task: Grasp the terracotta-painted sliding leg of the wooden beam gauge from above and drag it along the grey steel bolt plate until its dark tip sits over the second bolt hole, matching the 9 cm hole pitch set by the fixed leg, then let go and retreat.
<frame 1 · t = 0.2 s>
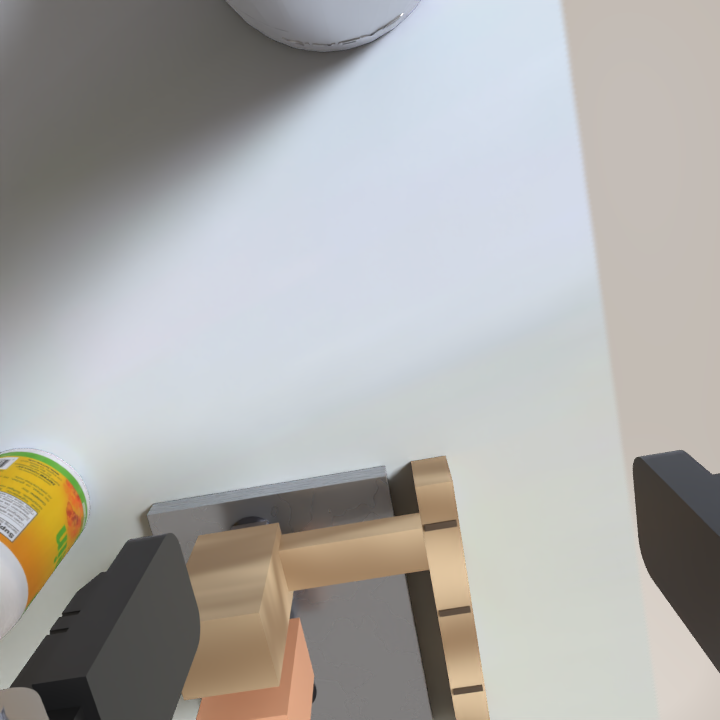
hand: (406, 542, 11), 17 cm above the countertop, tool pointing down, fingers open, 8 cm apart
sliding leg: (263, 682, 28), point 5 cm above the countertop, slide at 0.0 cm
gauge rule: (450, 594, 32), on the countertop
bolt plate: (301, 617, 33), on the countertop
supplement bottle: (37, 495, 31), on the countertop
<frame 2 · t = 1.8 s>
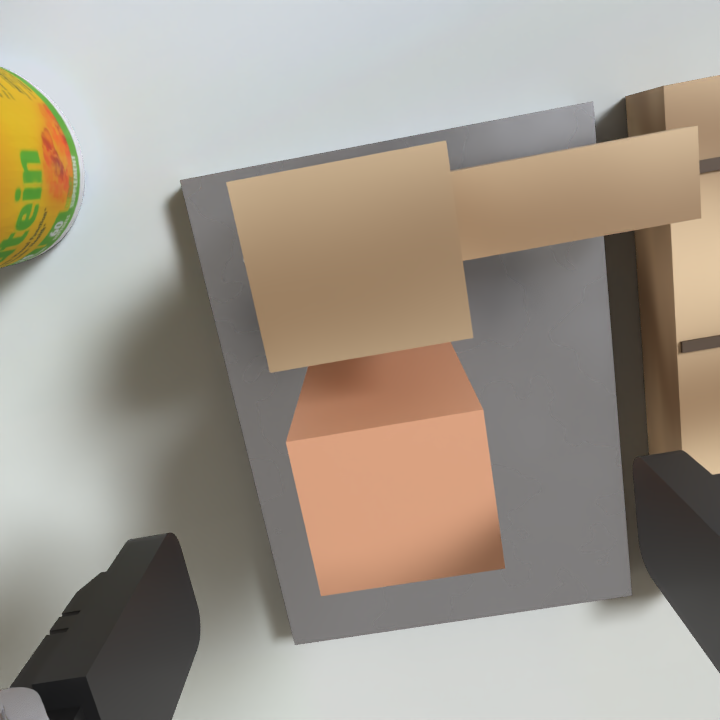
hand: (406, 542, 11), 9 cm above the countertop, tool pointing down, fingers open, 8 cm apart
sliding leg: (391, 432, 15), point 5 cm above the countertop, slide at 0.0 cm
gauge rule: (669, 353, 20), on the countertop
bolt plate: (423, 395, 20), on the countertop
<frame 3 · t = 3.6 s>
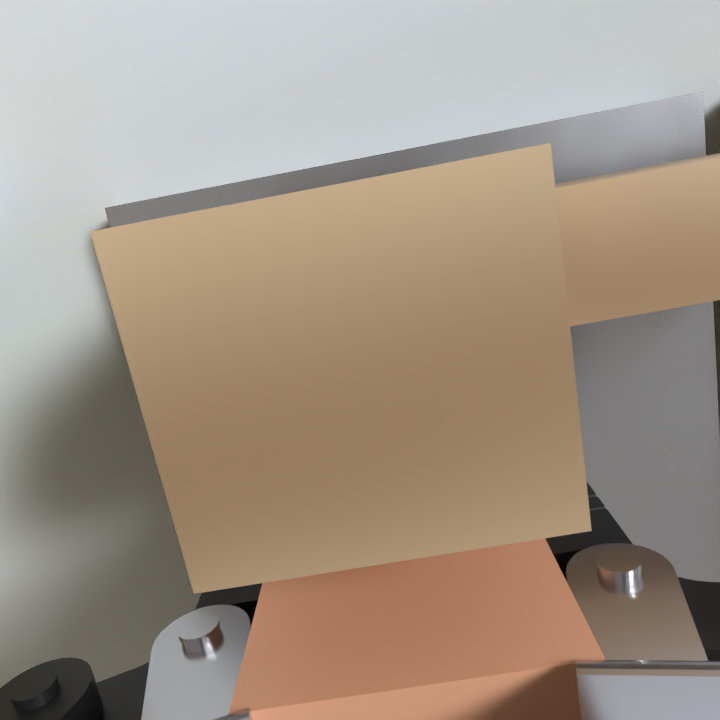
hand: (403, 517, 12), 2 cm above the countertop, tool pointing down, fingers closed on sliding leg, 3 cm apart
sliding leg: (415, 602, 10), point 5 cm above the countertop, slide at 0.0 cm, touching gripper
bolt plate: (450, 496, 15), on the countertop
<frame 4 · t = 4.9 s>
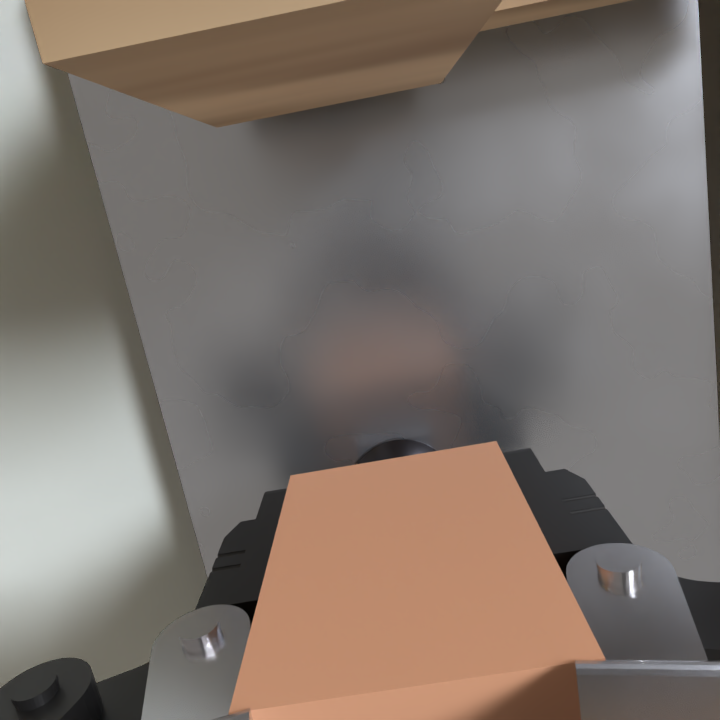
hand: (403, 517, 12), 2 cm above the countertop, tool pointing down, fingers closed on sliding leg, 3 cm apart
sliding leg: (415, 602, 10), point 5 cm above the countertop, slide at 4.4 cm, touching gripper
bolt plate: (419, 307, 14), on the countertop
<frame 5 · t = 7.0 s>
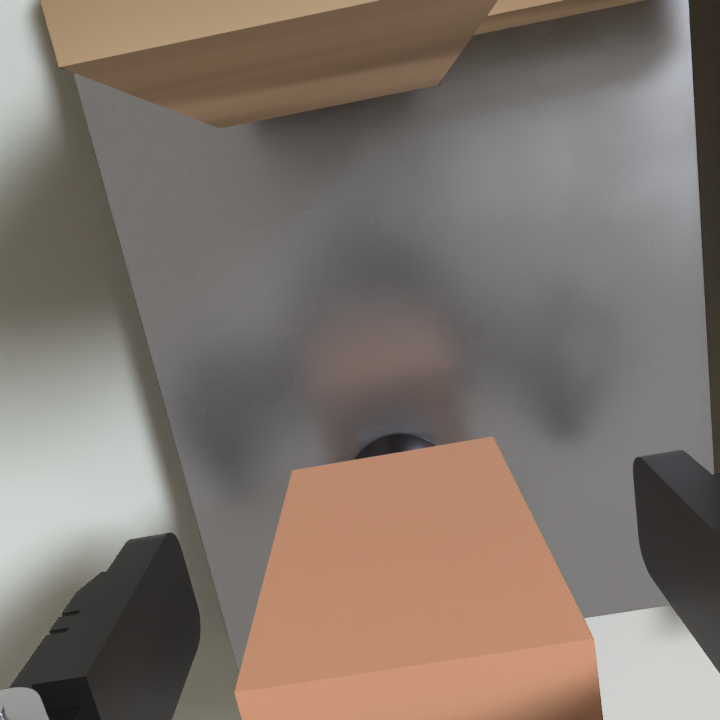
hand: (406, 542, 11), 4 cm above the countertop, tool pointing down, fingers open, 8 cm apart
sliding leg: (413, 592, 10), point 5 cm above the countertop, slide at 4.5 cm
bolt plate: (417, 304, 14), on the countertop
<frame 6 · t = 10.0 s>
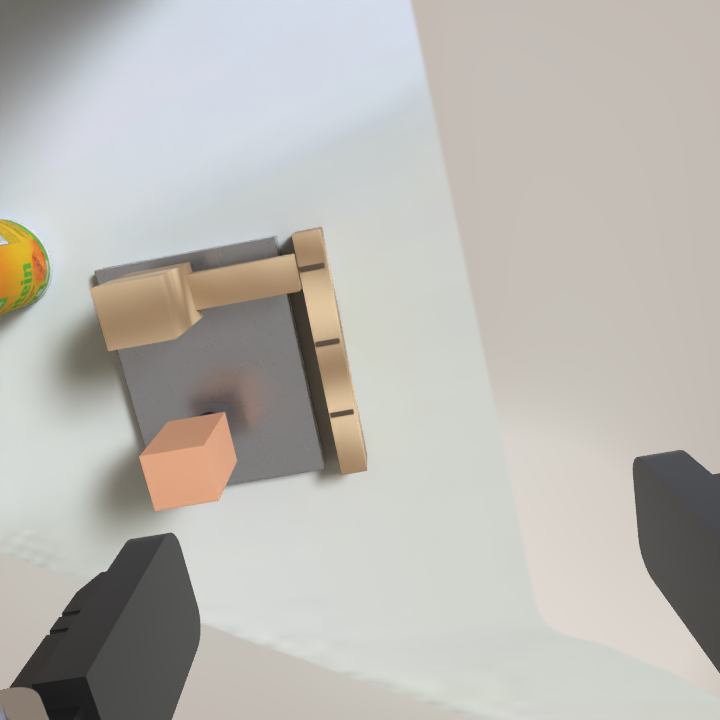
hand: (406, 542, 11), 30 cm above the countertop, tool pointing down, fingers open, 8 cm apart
sliding leg: (195, 452, 38), point 5 cm above the countertop, slide at 4.5 cm
gauge rule: (333, 348, 42), on the countertop
bolt plate: (217, 369, 42), on the countertop
supplement bottle: (12, 263, 41), on the countertop
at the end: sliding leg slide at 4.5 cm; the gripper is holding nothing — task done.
